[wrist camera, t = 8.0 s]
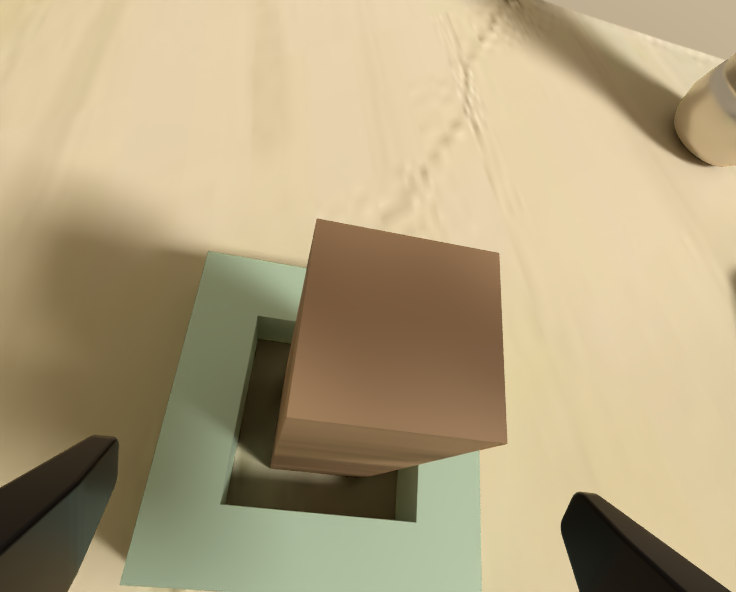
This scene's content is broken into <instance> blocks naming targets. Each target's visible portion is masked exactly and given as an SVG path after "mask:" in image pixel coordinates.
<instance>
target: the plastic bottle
mask: <svg viewBox="0 0 736 592" xmlns="http://www.w3.org/2000/svg"><path fill="white" fill-rule="evenodd" d="M674 126H675V130H676V132H677V135H678V137H679V138H680V140H681V142H682V143H683V144H684V145H685V147H686V148H687V149H688V150H689V151H690V152H691V153H693V154H694V155H695V156H696V157H698V158H699V159H701V160H703V161H704V162H707V163H709V164H711V165H715V166H721V167H723V166H733V165H736V53H735V54H734V55H733V56H732V57H731V58H730V59H728V60H726V61H724V62H723V63H721V64H720V65H718V66H717V67H716V68H714V69H713V70H711V71H710V72H709V73H707V74H706V75H705V76H704V77H702V78H701V79H700V80H698V81H697V82H696V83H695V84H694V85H693V86H692V87H691V89H690V90H689V91H688V92H687V94H686V95H685V96H684V98H683V99H682V100H681V102H680V103H679V104H678V107H677V111H676V115H675V119H674Z"/></svg>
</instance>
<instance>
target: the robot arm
mask: <svg viewBox="0 0 736 592" xmlns="http://www.w3.org/2000/svg"><path fill="white" fill-rule="evenodd" d="M118 450H119V443H118V440H117V439H116V438H115V437H109V436H101V435H93V436H90V437H88V438H86V439H85V440H83V441H81V442H79V443H78V444H76V445H74V446H72V447H71V448H69V449H67V450H65V451H64V452H62V453H60V454H58V455H57V456H55V457H53V458H51V459H50V460H48V461H46V462H44V463H43V464H41V465H39V466H37V467H36V468H34V469H32V470H30V471H29V472H27V473H25V474H23V475H22V476H20V477H18V478H16V479H15V480H13V481H11V482H9V483H8V484H6V485H4V486H2V487H1V488H0V592H68V590H69V588H70V586H71V584H72V582H73V580H74V578H75V576H76V575H77V573H78V570H79V568H80V566H81V564H82V561H83V559H84V557H85V554H86V552H87V550H88V547H89V545H90V543H91V540H92V538H93V536H94V533H95V531H96V529H97V526H98V524H99V522H100V519H101V517H102V515H103V512H104V510H105V508H106V505H107V503H108V501H109V498H110V496H111V494H112V491H113V489H114V486H115V483H116V479H117V473H118ZM561 534H562V537H563V540H564V544H565V547H566V550H567V553H568V556H569V560H570V563H571V566H572V569H573V573H574V576H575V579H576V582H577V585H578V589H579V592H731V591H729V590H728V589H727V588H725V587H724V586H723V585H721V584H720V583H719V582H717V581H716V580H714V579H713V578H712V577H710V576H709V575H708V574H706V573H705V572H703V571H702V570H701V569H699V568H698V567H697V566H695V565H694V564H692V563H691V562H690V561H688V560H687V559H686V558H684V557H683V556H681V555H680V554H679V553H677V552H676V551H675V550H673V549H672V548H670V547H669V546H668V545H666V544H665V543H664V542H662V541H661V540H659V539H658V538H657V537H655V536H654V535H653V534H651V533H650V532H648V531H647V530H646V529H644V528H643V527H642V526H640V525H639V524H637V523H636V522H635V521H633V520H632V519H631V518H629V517H628V516H626V515H625V514H624V513H622V512H621V511H620V510H618V509H617V508H615V507H614V506H613V505H611V504H610V503H609V502H607V501H606V500H605V499H603V498H602V497H600V496H599V495H597V494H594V493H587V492H577V493H575V494H574V495H573V497H572V499H571V501H570V503H569V505H568V508H567V510H566V512H565V514H564V516H563V518H562V521H561Z"/></svg>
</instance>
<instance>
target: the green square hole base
mask: <svg viewBox="0 0 736 592" xmlns="http://www.w3.org/2000/svg"><path fill="white" fill-rule="evenodd" d="M306 269H307V268H302V267H297V266H291V265H285V264H279V263H274V262H268V261H262V260H257V259H251V258H245V257H239V256H234V255H228V254H222V253H216V252H211V251H208V254H207V258H206V262H205V266H204V269H203V273H202V277H201V281H200V284H199V288H198V292H197V296H196V299H195V303H194V307H193V311H192V314H191V318H190V322H189V326H188V329H187V333H186V337H185V341H184V345H183V348H182V352H181V356H180V360H179V363H178V367H177V371H176V375H175V378H174V382H173V386H172V390H171V393H170V397H169V401H168V405H167V408H166V412H165V416H164V420H163V423H162V427H161V431H160V435H159V438H158V442H157V446H156V450H155V453H154V457H153V461H152V465H151V469H150V472H149V476H148V480H147V484H146V487H145V491H144V495H143V499H142V502H141V506H140V510H139V514H138V517H137V521H136V525H135V529H134V532H133V536H132V540H131V544H130V547H129V551H128V555H127V559H126V562H125V566H124V570H123V574H122V577H121V581H120V585H126V586H142V587H157V588H173V589H189V590H205V591H221V592H482V586H481V522H480V457H479V451H475V452H470V453H466V454H462V455H458V456H453V457H449V458H445V459H441V460H437V461H432V462H428V463H424V464H420V465H415V466H411V467H407V468H403V469H399V470H398V471H397V489H396V508H395V520H391V519H380V518H369V517H358V516H347V515H336V514H326V513H315V512H304V511H293V510H282V509H271V508H261V507H250V506H239V505H228V504H226V499H227V493H228V488H229V483H230V478H231V473H232V468H233V463H234V458H235V453H236V448H237V442H238V437H239V432H240V427H241V422H242V417H243V412H244V407H245V402H246V397H247V391H248V386H249V381H250V376H251V371H252V366H253V361H254V356H255V351H256V346H257V340H258V339H262V340H269V341H276V342H283V343H289V344H291V342H292V337H293V332H294V327H295V323H296V318H297V313H298V308H299V303H300V298H301V293H302V288H303V284H304V279H305V274H306Z"/></svg>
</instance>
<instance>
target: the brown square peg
mask: <svg viewBox="0 0 736 592" xmlns="http://www.w3.org/2000/svg"><path fill="white" fill-rule="evenodd" d="M504 444H507V425H506V402H505V378H504V355H503V332H502V308H501V285H500V261H499V253H496V252H491V251H486V250H480V249H475V248H470V247H464V246H459V245H454V244H449V243H443V242H438V241H433V240H428V239H422V238H417V237H412V236H406V235H401V234H396V233H391V232H385V231H380V230H375V229H370V228H364V227H359V226H354V225H348V224H343V223H338V222H333V221H327V220H322V219H317V220H316V225H315V230H314V235H313V240H312V245H311V250H310V254H309V259H308V264H307V269H306V274H305V279H304V284H303V288H302V293H301V298H300V303H299V308H298V313H297V318H296V323H295V327H294V332H293V337H292V342H291V347H290V352H289V357H288V362H287V366H286V371H285V376H284V383H283V389H282V395H281V401H280V407H279V414H278V420H277V426H276V432H275V438H274V445H273V451H272V457H271V463H270V468H272V469H281V470H291V471H301V472H311V473H320V474H330V475H340V476H350V477H359V478H365V477H369V476H373V475H377V474H382V473H386V472H390V471H394V470H399V469H403V468H407V467H411V466H415V465H420V464H424V463H428V462H432V461H437V460H441V459H445V458H449V457H453V456H458V455H462V454H466V453H470V452H475V451H479V450H483V449H487V448H491V447H496V446H500V445H504Z"/></svg>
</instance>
